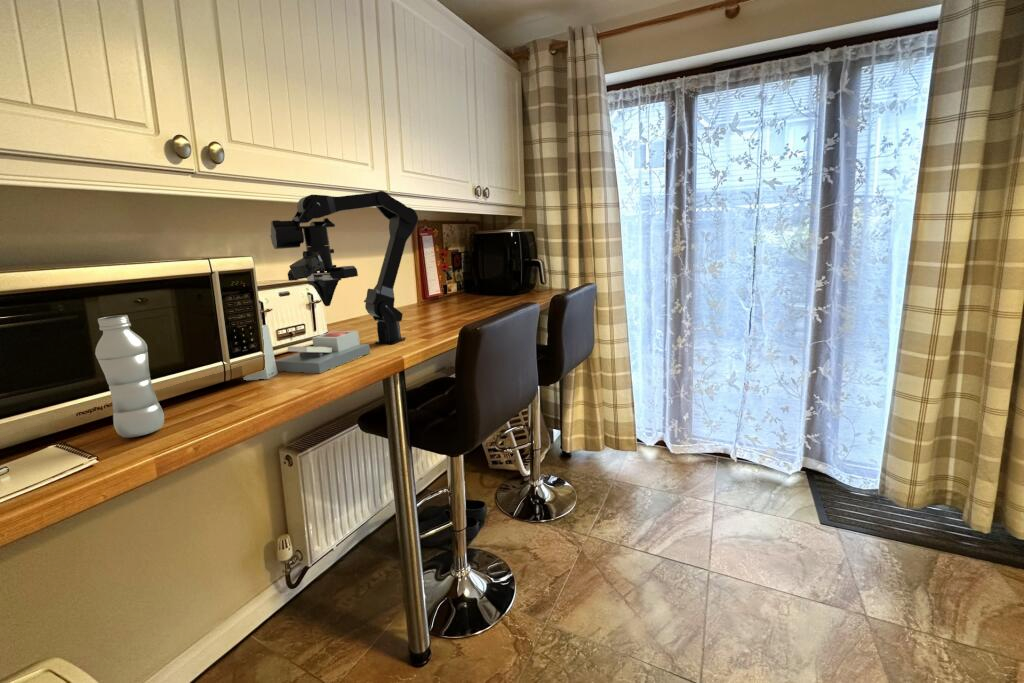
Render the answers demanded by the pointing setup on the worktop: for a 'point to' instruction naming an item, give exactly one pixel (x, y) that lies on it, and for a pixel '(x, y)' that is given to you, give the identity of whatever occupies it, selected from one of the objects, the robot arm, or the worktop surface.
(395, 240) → the robot arm
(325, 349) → the rocker switch
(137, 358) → the plastic bottle
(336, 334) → the breaker button
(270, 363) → the grey tapered stand
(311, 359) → the grey switch base
